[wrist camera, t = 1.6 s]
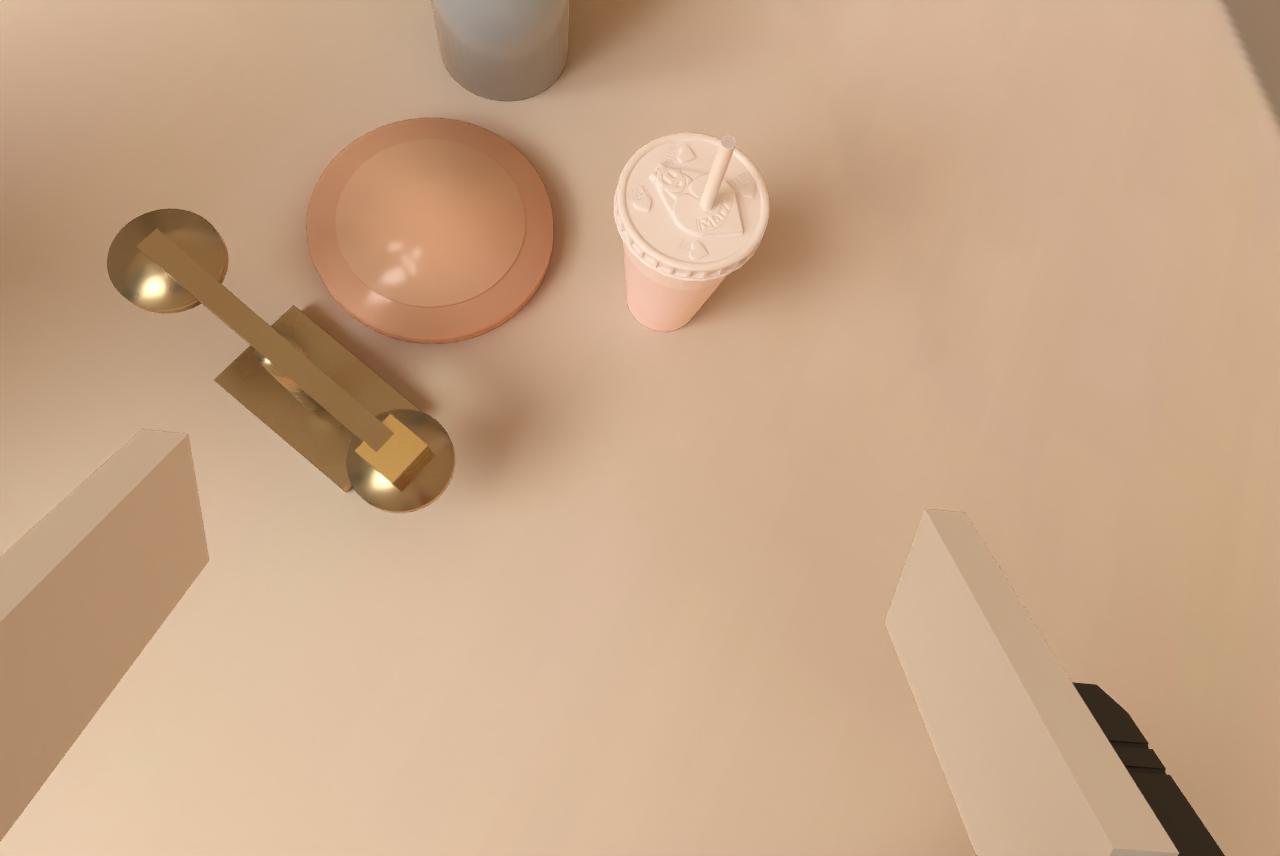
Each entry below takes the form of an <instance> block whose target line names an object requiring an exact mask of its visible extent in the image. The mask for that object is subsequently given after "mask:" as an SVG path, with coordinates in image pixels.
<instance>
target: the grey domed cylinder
mask: <svg viewBox="0 0 1280 856" xmlns="http://www.w3.org/2000/svg"><path fill="white" fill-rule="evenodd" d="M431 2H432V8H433V13H434V19H435V24H436V29H437V35H438V40H439V46H440V51H441V56H442V59H443V62H444V65H445V67H446V69H447V70H448V72H449V73H450V75H451V76H452V77H453V78H454V79H455V81H456V82H458V83H459V84H460V85H461V86H462V87H464V88H465V89H467V90H468V91H470V92H472V93H474V94H476V95H478V96H481V97H483V98H487V99H491V100H497V101H518V100H523V99H527V98H530V97H533V96H535V95H538V94H540V93H542V92H543V91H545V90H546V89H548V88H549V87H550V86H551V85H553V84H554V82H555V81H556V80H557V79H558V78H559V76H560V75H561V73H562V72H563V70H564V67H565V65H566V61H567V56H568V32H569V0H431Z"/></svg>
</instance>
